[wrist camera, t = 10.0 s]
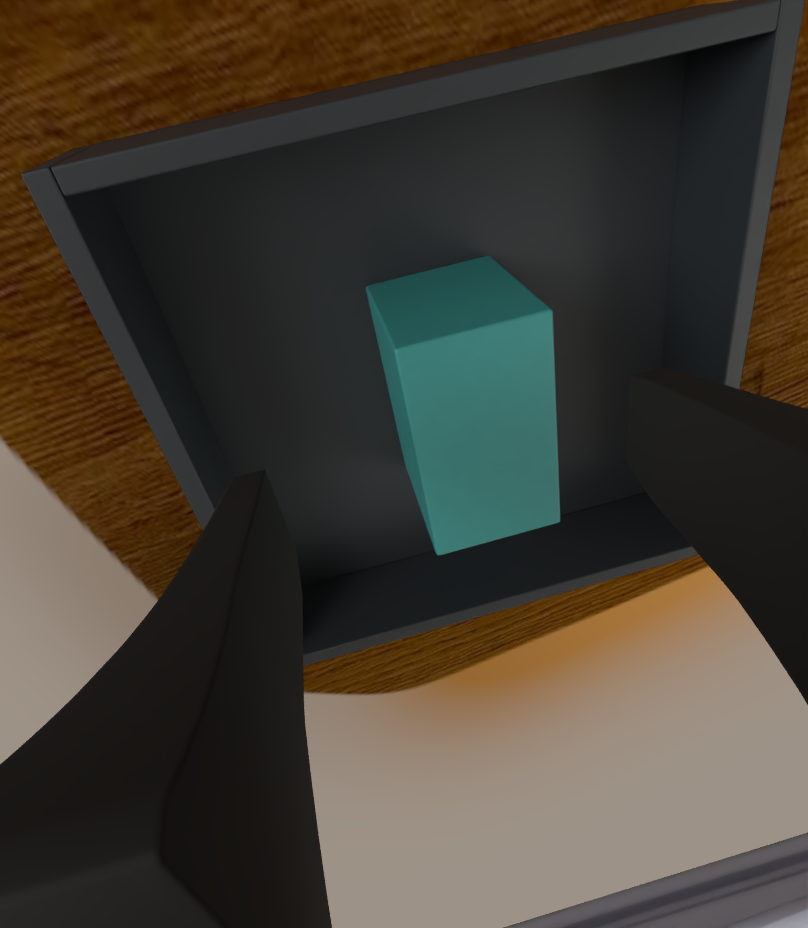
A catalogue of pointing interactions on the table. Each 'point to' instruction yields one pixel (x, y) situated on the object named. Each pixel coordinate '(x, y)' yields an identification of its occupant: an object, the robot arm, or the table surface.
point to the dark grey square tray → (425, 248)
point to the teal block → (472, 399)
